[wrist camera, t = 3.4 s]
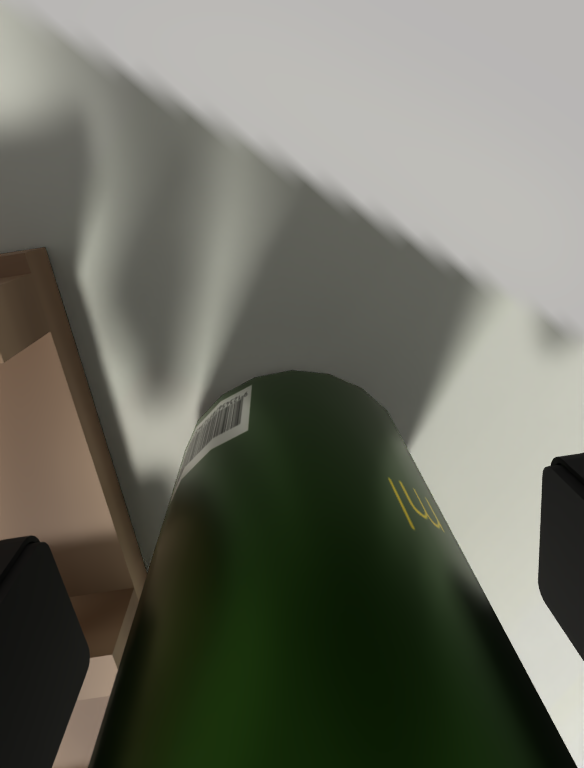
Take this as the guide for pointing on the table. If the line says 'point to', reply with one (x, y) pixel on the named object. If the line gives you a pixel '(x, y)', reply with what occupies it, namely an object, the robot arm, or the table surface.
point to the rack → (64, 482)
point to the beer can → (314, 607)
